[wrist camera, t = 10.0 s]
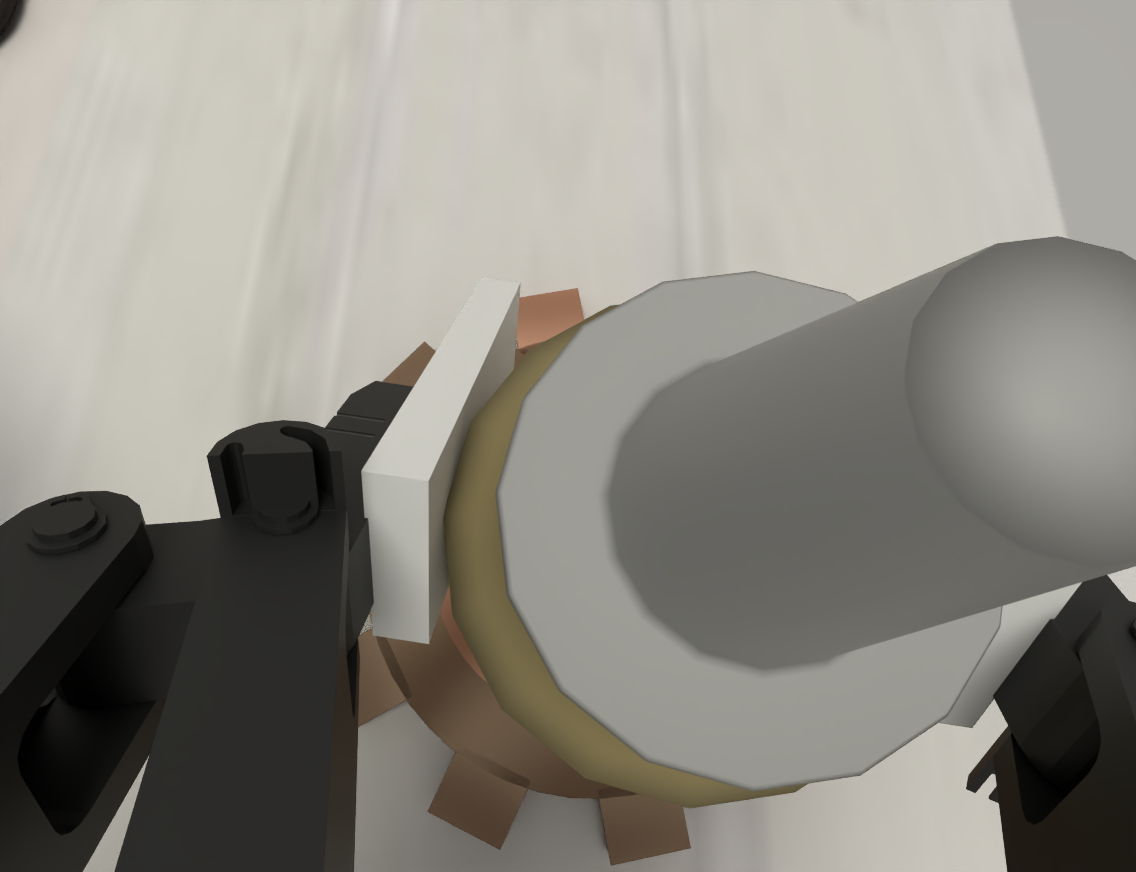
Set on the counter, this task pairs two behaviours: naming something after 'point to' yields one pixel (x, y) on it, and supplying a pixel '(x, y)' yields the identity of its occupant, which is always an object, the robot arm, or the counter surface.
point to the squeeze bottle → (790, 511)
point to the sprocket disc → (469, 708)
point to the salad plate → (6, 12)
